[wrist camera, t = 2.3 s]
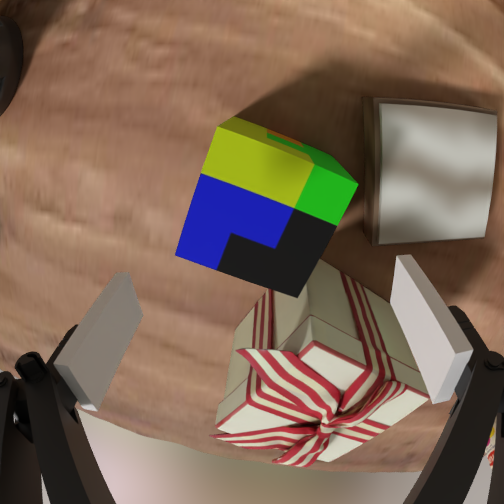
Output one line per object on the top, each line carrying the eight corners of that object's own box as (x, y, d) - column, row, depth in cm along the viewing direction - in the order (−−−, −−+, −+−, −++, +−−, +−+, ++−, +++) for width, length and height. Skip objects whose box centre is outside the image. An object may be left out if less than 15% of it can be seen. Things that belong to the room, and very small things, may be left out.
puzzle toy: (200, 208, 33) (174, 255, 24) (233, 116, 28) (217, 126, 19) (290, 242, 34) (297, 298, 25) (331, 155, 29) (358, 184, 21)
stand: (362, 96, 26) (375, 97, 23) (479, 107, 25) (500, 111, 21) (363, 231, 33) (373, 249, 29) (469, 225, 31) (486, 240, 28)
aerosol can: (480, 400, 48) (511, 476, 31) (501, 395, 48) (532, 465, 30) (466, 419, 51) (491, 491, 34) (486, 414, 51) (512, 481, 34)
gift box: (266, 227, 33) (263, 348, 18) (398, 294, 36) (451, 406, 21) (204, 334, 41) (177, 451, 25) (322, 378, 44) (334, 483, 29)
